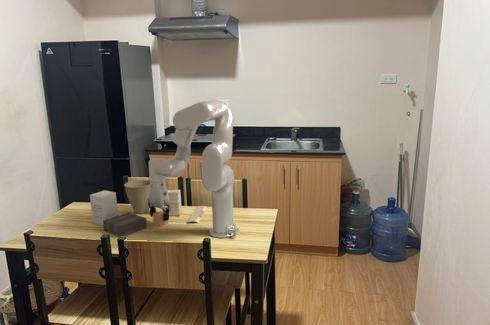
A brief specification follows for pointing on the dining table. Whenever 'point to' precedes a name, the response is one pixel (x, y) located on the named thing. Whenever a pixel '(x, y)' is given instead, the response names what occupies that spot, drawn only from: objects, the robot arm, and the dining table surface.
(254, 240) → the dining table surface
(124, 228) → the black plinth
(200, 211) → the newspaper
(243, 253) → the dining table surface
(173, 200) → the supplement box
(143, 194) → the plant pot
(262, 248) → the dining table surface
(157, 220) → the terracotta block
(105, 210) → the supplement box
